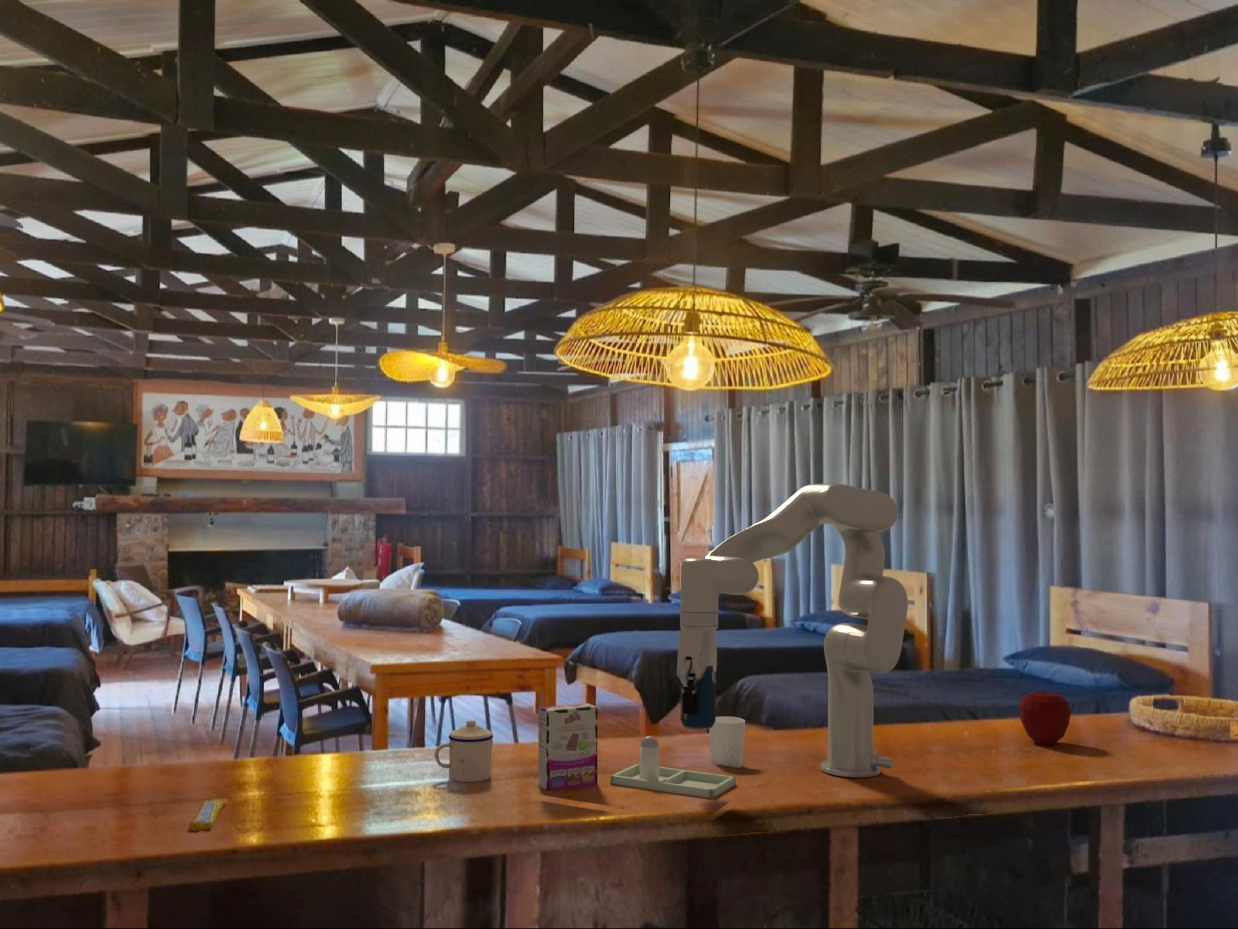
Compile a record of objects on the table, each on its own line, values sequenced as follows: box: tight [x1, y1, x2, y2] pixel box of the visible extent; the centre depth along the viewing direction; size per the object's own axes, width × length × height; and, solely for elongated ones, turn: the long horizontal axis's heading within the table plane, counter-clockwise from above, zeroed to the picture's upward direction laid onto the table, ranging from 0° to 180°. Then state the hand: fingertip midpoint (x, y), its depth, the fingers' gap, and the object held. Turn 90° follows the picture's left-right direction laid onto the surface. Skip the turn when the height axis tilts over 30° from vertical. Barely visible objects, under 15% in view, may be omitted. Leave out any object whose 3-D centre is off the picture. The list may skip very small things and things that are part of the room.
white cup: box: [708, 715, 746, 768], centre depth 235 cm, size 8×8×10 cm
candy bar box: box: [537, 702, 598, 791], centre depth 213 cm, size 11×5×16 cm, turn 118°
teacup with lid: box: [434, 719, 494, 783], centre depth 221 cm, size 12×9×12 cm
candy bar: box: [188, 798, 228, 832], centre depth 190 cm, size 17×4×2 cm, turn 12°
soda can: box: [680, 666, 717, 730], centre depth 213 cm, size 7×7×12 cm
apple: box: [1019, 688, 1072, 746], centre depth 263 cm, size 12×12×13 cm
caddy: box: [609, 763, 736, 799], centre depth 214 cm, size 22×12×2 cm, turn 63°
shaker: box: [638, 735, 660, 781], centre depth 217 cm, size 4×4×9 cm
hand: (698, 710), depth 213 cm, fingers closed on soda can, 6 cm apart
